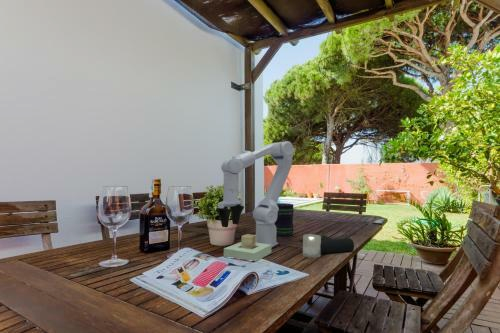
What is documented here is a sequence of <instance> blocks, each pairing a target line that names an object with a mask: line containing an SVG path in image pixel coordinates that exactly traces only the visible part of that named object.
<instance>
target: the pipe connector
mask: <svg viewBox="0 0 500 333" xmlns="http://www.w3.org/2000/svg"><path fill="white" fill-rule="evenodd" d="M320 236H321V255H325V254H334V253H335V254H336V253H347V252H353V251H354V249H355V243H354V241H353V239H352V238H350V237H346V238H332V237H330V236H328V235H326V234H321V235H320Z"/></svg>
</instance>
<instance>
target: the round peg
mask: <svg viewBox="0 0 500 333" xmlns="http://www.w3.org/2000/svg"><path fill="white" fill-rule="evenodd" d="M321 255H322V254H321V235H318V234H313V233H312V234H311V233H309V234H307V233H305V234H303V235H302V256H303V257H306V258H309V259H310V258H312V259H314V258H320V257H322V256H321Z"/></svg>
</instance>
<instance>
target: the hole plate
mask: <svg viewBox="0 0 500 333" xmlns="http://www.w3.org/2000/svg"><path fill="white" fill-rule="evenodd" d="M270 254H272V247H271V245H270V244H262V243H256V248H254V249H245V248H241V241H239V242H237V243H235V244H232V245H229V246H227V247H223V258H226V257H234V258H240V259H246V260H252V261H255V260H257V259H259V260H261V259H263V258H265V257H266V256H268V255H270Z"/></svg>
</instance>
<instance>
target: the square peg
mask: <svg viewBox="0 0 500 333" xmlns="http://www.w3.org/2000/svg"><path fill="white" fill-rule="evenodd" d="M240 239H241V241H240V242H241V248H245V249H254V248H256V239H257V235H256V234H248V233H246V234H243V235H241V238H240Z"/></svg>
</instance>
